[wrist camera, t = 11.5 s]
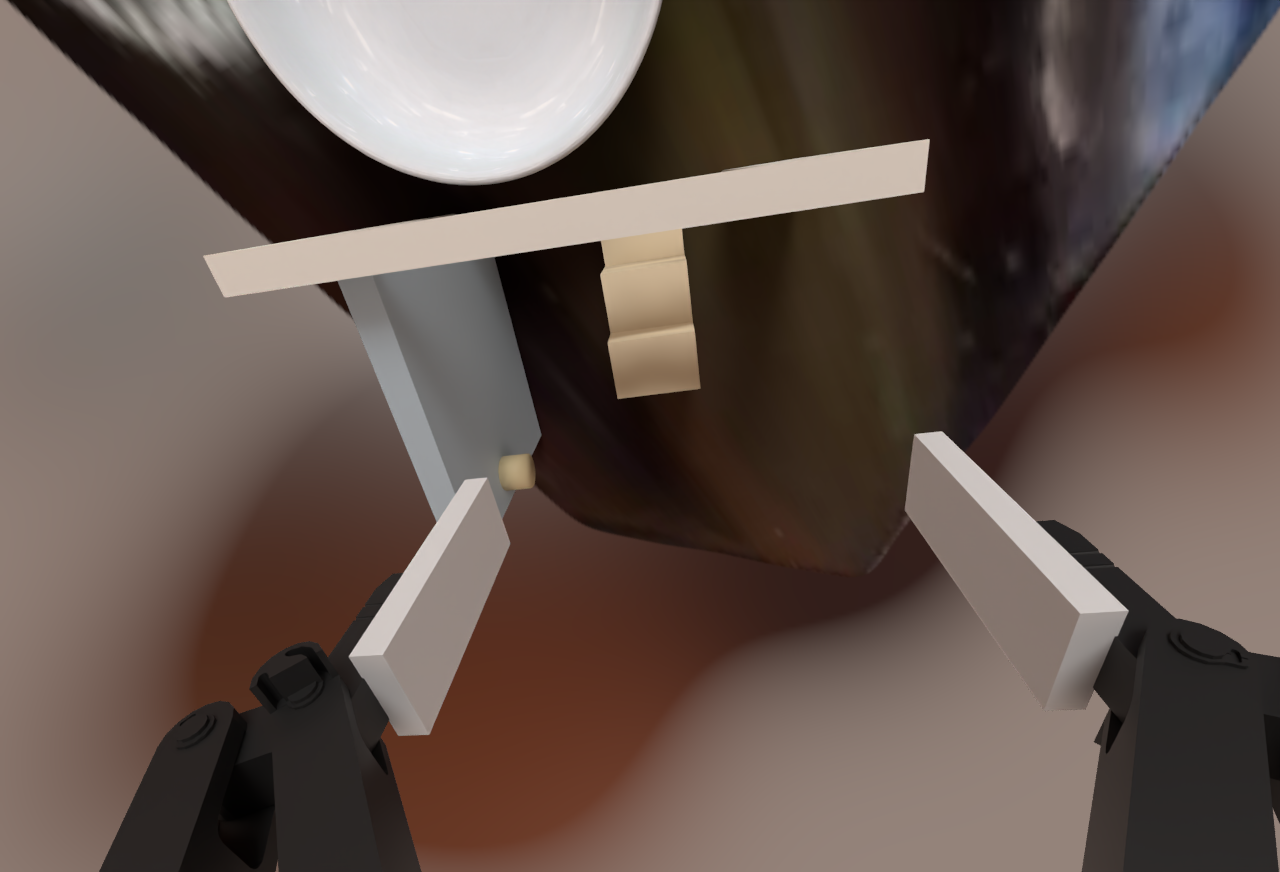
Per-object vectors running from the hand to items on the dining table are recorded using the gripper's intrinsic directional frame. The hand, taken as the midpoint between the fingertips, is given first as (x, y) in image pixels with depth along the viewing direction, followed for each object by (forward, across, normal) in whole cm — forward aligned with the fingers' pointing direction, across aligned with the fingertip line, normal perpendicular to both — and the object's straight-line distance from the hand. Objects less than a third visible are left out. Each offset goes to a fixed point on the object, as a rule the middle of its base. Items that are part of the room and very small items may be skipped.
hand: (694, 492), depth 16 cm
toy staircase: (+22, -2, +2) cm, 23 cm away
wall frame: (+22, -4, +8) cm, 24 cm away
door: (+22, -12, 0) cm, 25 cm away
